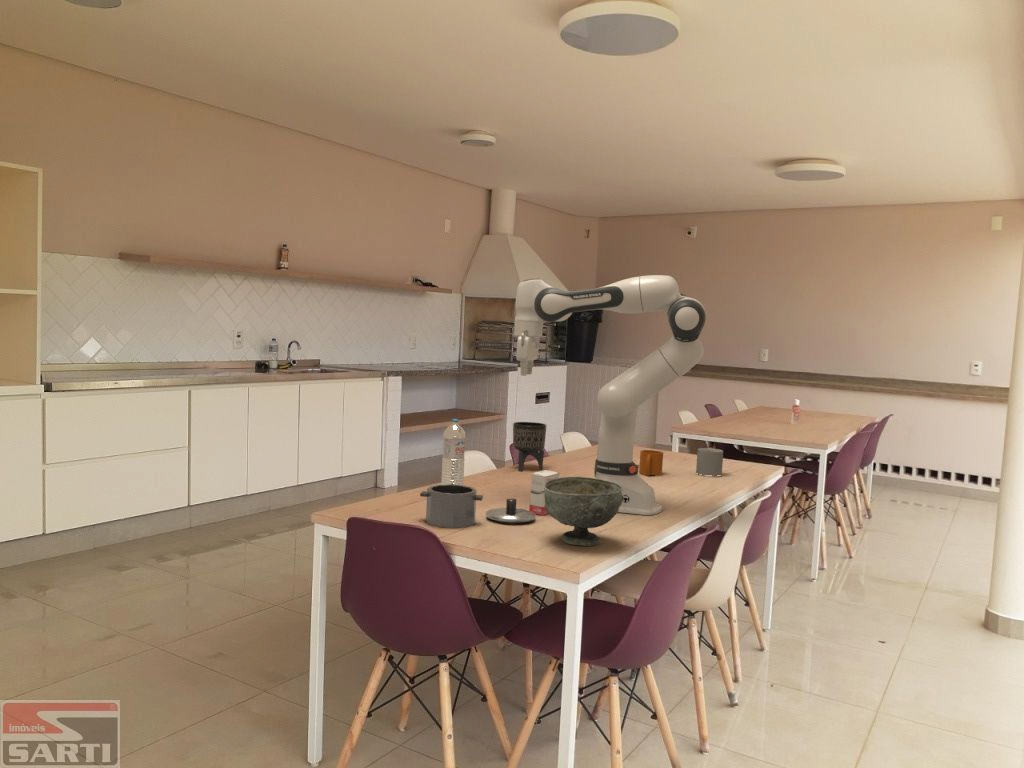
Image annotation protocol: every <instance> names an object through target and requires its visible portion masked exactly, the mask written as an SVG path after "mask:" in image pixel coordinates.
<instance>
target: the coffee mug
mask: <svg viewBox="0 0 1024 768" xmlns="http://www.w3.org/2000/svg"><path fill="white" fill-rule="evenodd" d="M723 462H724V450H723V449H719V448H710V447H709V448H708V447H707V448H706V447H703V448H702V447H699V448H697V454H696V467H695V468H696V469H695V474H696V473H698V474H702V475H712V476H717V475H723Z"/></svg>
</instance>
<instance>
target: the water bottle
mask: <svg viewBox="0 0 1024 768" xmlns="http://www.w3.org/2000/svg"><path fill="white" fill-rule="evenodd" d="M451 423H452V424H449V426H447V427H446V428H445V430H444V431H443V435H442V436H443V444H442V445H443V446H442V459H441V461H442V463H441V483H440V485H463V486H464V478H465V477H464V475H465V474H464V473H465V452H466V451H465V448H466V447H465V446H466V433H467V432H466V431H465V430H464V428H463V427H462V426H461V425H459V419H458V418H452V420H451Z"/></svg>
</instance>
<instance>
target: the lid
mask: <svg viewBox="0 0 1024 768" xmlns="http://www.w3.org/2000/svg"><path fill="white" fill-rule="evenodd" d="M505 502H506V505H505V507H501V508H500V507H498V508H491V509H488V510H487V511H486V512H485V516H486V518H488V519H490V520H493V521H496V522H499V523H503V524H522V523H527V522H531V521H534V520H536V517H537V514H535V513H534V512H531V511H529V509H522V508H517V499H516V498H512V497H511V498H506V501H505Z"/></svg>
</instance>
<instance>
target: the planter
mask: <svg viewBox="0 0 1024 768" xmlns="http://www.w3.org/2000/svg"><path fill="white" fill-rule="evenodd" d="M546 433H547V424H546V423H542V422H532V421H517V422H513V423H512V448H513V449H514V450H515V451H518V465H517V466H518V468H517V469H518V472H523V471H524V466H525V461H526V459H527V457H528V456H531V457H533V458H535V460H536V461H537V464H538V471H541V470H542V471H543V465H544V456H545V447H546V445H545V444H546V435H547V434H546Z"/></svg>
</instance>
